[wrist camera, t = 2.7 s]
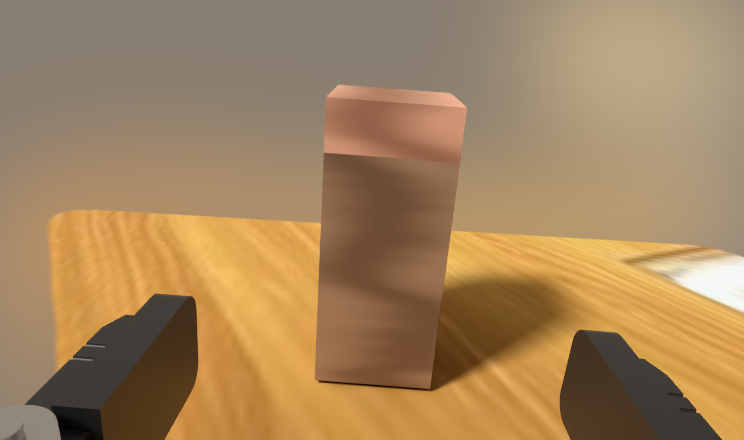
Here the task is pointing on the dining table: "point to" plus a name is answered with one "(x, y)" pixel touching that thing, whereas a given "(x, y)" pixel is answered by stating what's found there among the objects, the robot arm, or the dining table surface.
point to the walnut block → (385, 232)
